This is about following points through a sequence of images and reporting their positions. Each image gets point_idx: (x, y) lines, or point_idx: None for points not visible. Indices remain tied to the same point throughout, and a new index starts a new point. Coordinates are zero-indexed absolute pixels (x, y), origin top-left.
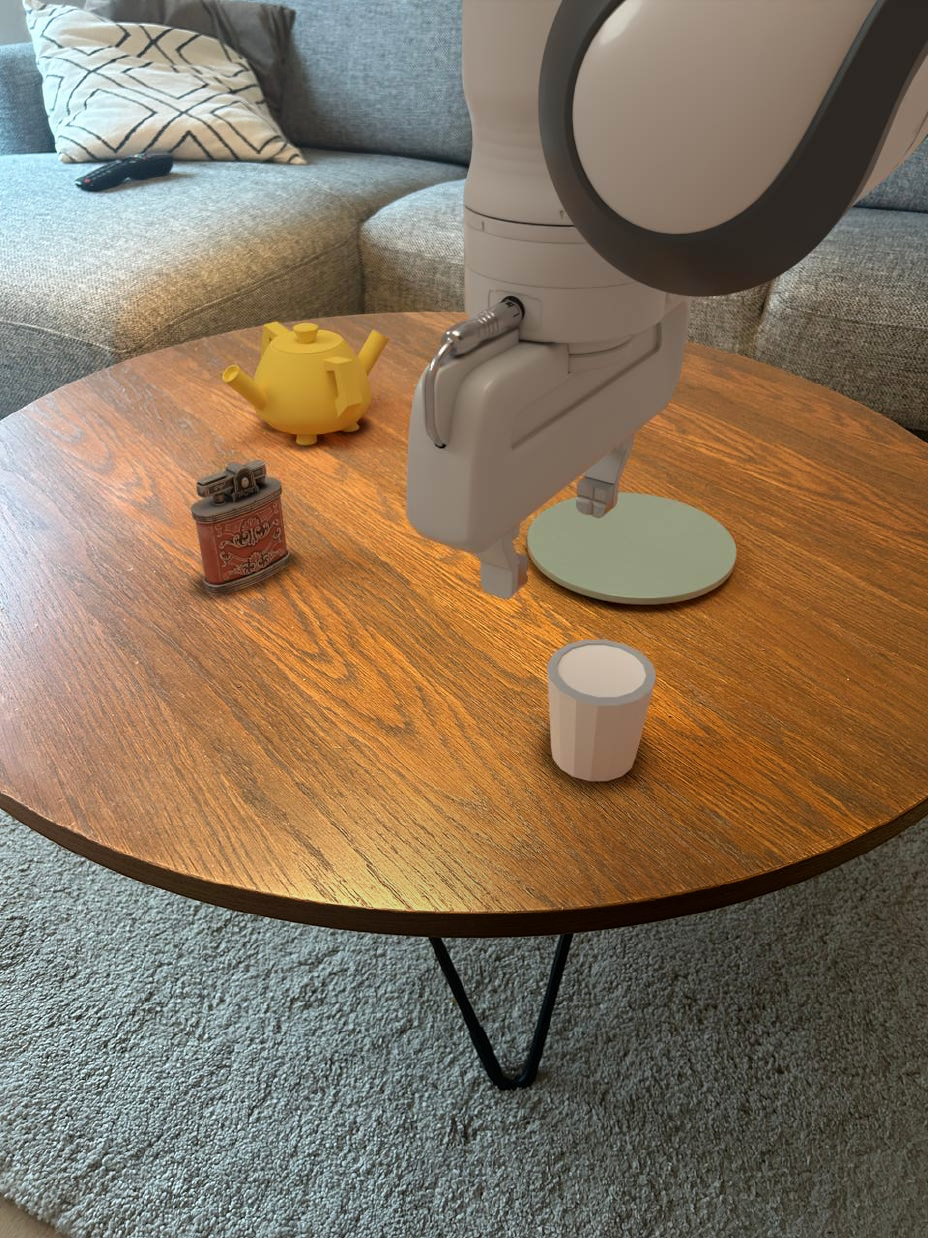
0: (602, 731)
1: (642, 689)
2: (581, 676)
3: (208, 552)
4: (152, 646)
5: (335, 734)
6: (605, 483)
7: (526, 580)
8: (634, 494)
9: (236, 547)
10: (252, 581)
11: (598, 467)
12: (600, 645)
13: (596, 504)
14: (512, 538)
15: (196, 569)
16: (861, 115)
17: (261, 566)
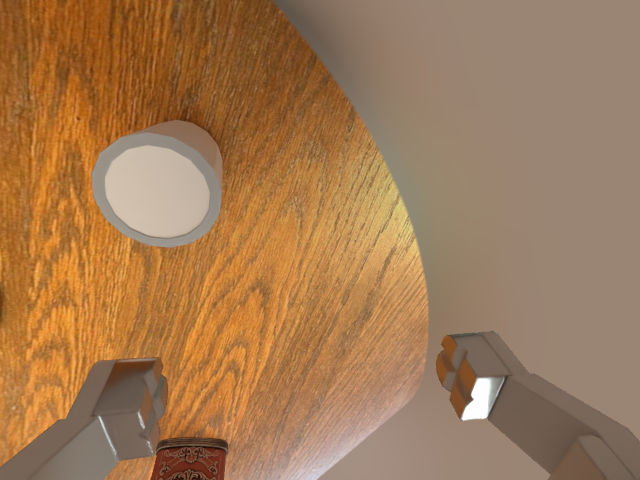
0: (210, 154)
1: (155, 141)
2: (183, 207)
3: (222, 477)
4: (291, 429)
5: (292, 315)
6: (109, 426)
7: (459, 340)
8: None
9: (203, 473)
10: (200, 440)
11: (85, 473)
12: (118, 216)
13: (153, 388)
14: (602, 439)
15: None
16: None
17: (188, 448)
